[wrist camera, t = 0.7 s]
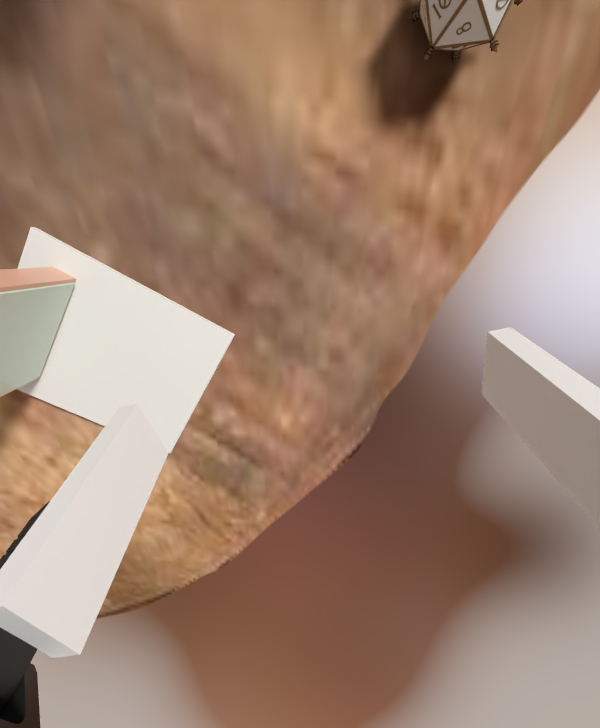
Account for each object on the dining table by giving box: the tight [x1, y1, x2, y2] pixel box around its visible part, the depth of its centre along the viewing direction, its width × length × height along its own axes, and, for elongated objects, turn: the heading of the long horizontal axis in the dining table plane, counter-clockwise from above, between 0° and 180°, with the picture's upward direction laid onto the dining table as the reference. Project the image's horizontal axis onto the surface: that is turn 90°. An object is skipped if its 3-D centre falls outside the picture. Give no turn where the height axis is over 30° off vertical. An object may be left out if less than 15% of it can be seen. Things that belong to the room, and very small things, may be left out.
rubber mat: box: [17, 227, 235, 453], centre depth 34 cm, size 21×17×1 cm
